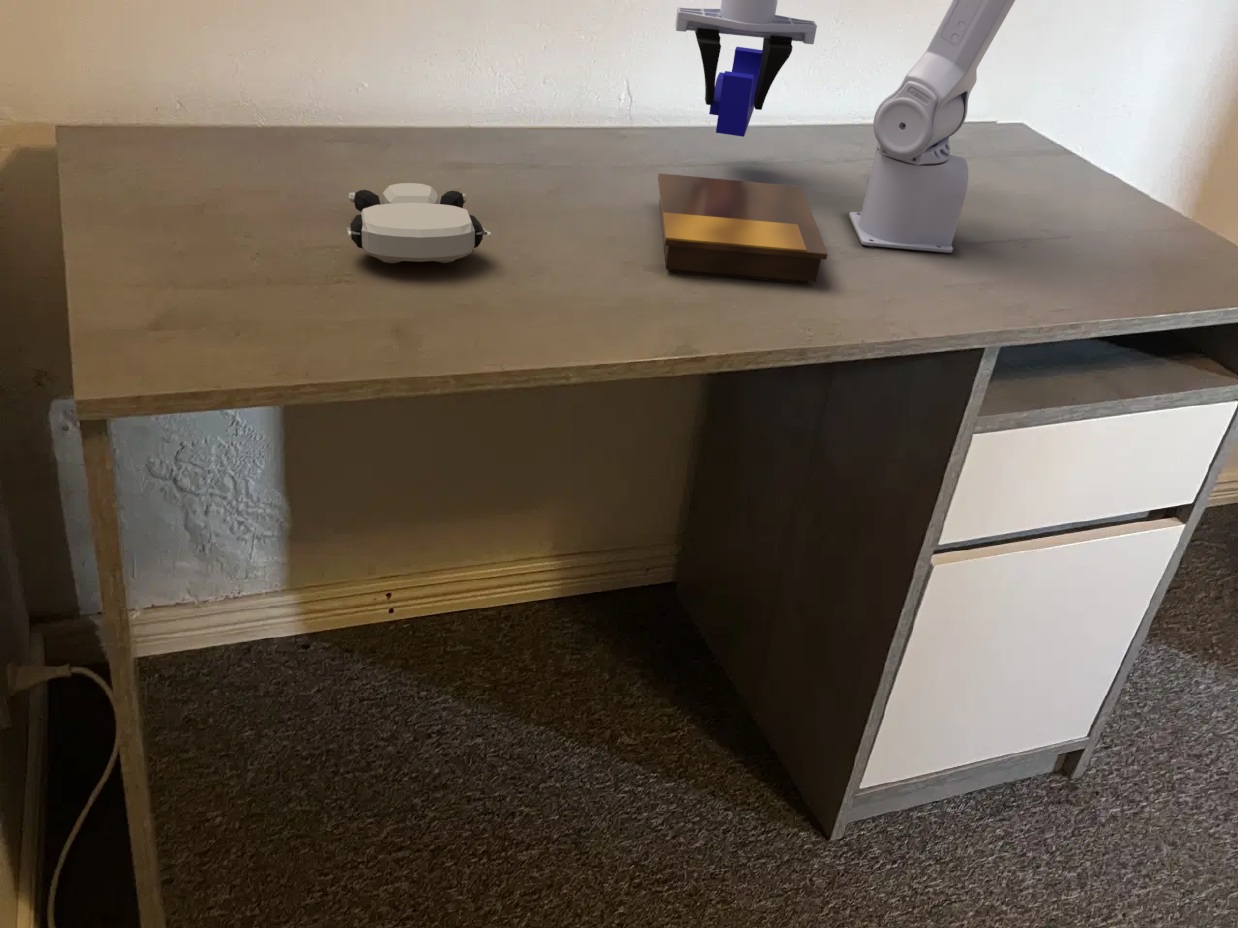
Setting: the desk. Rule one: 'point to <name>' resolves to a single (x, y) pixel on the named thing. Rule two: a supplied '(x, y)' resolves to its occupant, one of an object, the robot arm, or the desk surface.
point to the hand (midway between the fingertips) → (733, 104)
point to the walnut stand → (738, 229)
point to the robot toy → (414, 224)
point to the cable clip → (737, 92)
